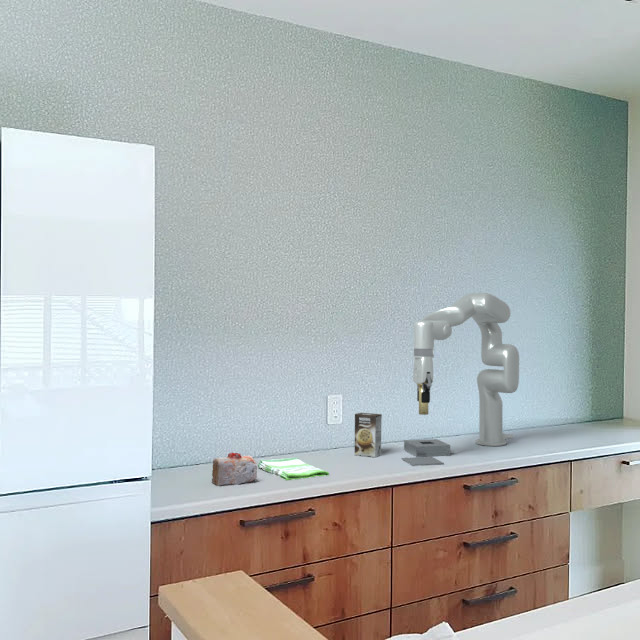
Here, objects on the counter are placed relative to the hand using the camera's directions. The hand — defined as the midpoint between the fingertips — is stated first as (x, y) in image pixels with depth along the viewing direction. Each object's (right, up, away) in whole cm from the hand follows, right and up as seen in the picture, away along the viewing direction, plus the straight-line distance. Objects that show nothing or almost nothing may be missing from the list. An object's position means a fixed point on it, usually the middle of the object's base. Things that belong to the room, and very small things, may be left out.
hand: (423, 401), depth 269 cm
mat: (-1, -22, -5) cm, 22 cm away
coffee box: (-20, -22, +8) cm, 31 cm away
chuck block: (+3, -22, +13) cm, 25 cm away
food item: (-67, -22, -38) cm, 80 cm away
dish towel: (-49, -23, -21) cm, 58 cm away
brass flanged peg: (0, -5, 0) cm, 5 cm away
